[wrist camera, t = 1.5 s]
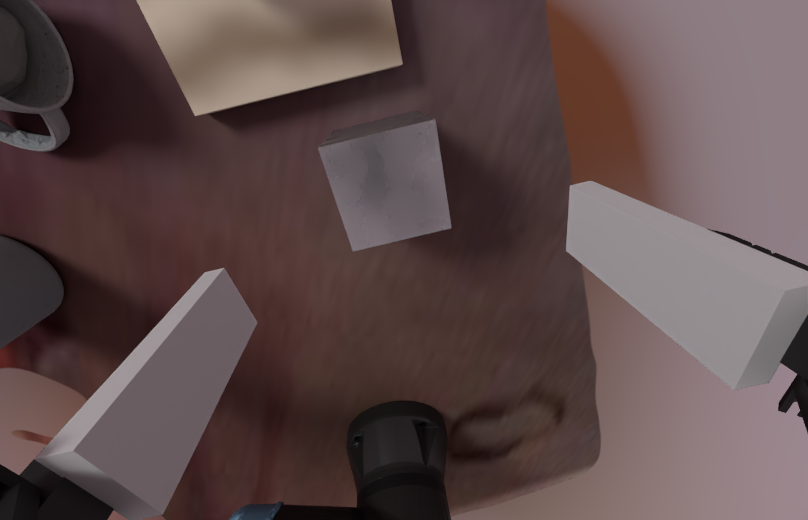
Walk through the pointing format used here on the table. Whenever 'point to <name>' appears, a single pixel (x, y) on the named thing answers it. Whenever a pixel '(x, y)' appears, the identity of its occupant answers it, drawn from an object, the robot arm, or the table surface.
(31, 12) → the ceramic mug
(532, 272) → the table surface
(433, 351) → the table surface
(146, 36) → the table surface
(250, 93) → the base
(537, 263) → the table surface
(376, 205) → the mottled grey cube
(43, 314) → the water bottle
